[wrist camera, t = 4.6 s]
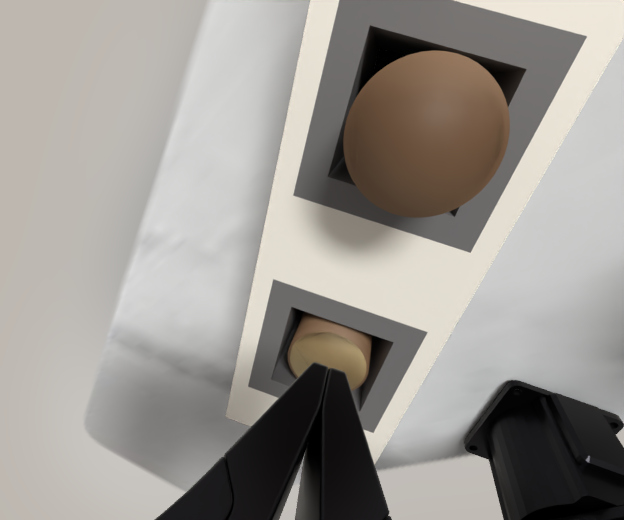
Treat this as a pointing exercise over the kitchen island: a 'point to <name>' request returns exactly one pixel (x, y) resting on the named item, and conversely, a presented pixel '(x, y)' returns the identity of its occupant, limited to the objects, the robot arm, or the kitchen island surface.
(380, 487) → the robot arm
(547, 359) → the kitchen island surface
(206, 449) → the kitchen island surface
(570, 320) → the kitchen island surface
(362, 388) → the white peg holder block
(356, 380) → the peg far
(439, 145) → the peg near
